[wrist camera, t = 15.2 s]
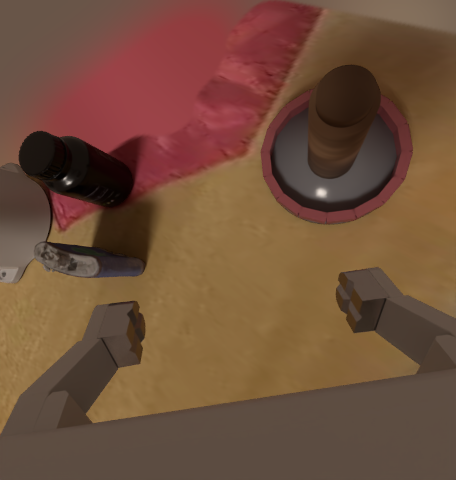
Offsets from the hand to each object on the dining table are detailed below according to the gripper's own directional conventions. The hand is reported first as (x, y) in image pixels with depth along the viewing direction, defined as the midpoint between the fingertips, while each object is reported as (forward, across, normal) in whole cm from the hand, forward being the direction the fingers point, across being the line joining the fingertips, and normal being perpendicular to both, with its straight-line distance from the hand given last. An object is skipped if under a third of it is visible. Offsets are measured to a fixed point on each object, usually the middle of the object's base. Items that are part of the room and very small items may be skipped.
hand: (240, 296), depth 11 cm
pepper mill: (+22, -13, +3) cm, 26 cm away
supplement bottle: (+31, +14, +7) cm, 35 cm away
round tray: (+23, -13, +4) cm, 27 cm away
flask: (+24, +15, +15) cm, 32 cm away
